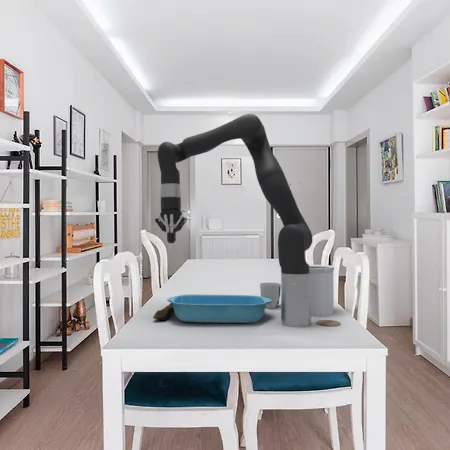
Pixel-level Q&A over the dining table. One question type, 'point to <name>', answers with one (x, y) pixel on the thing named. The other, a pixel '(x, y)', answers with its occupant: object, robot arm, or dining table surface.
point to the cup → (271, 293)
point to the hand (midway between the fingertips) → (171, 243)
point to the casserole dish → (219, 308)
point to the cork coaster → (328, 323)
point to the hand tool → (164, 312)
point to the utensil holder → (321, 289)
